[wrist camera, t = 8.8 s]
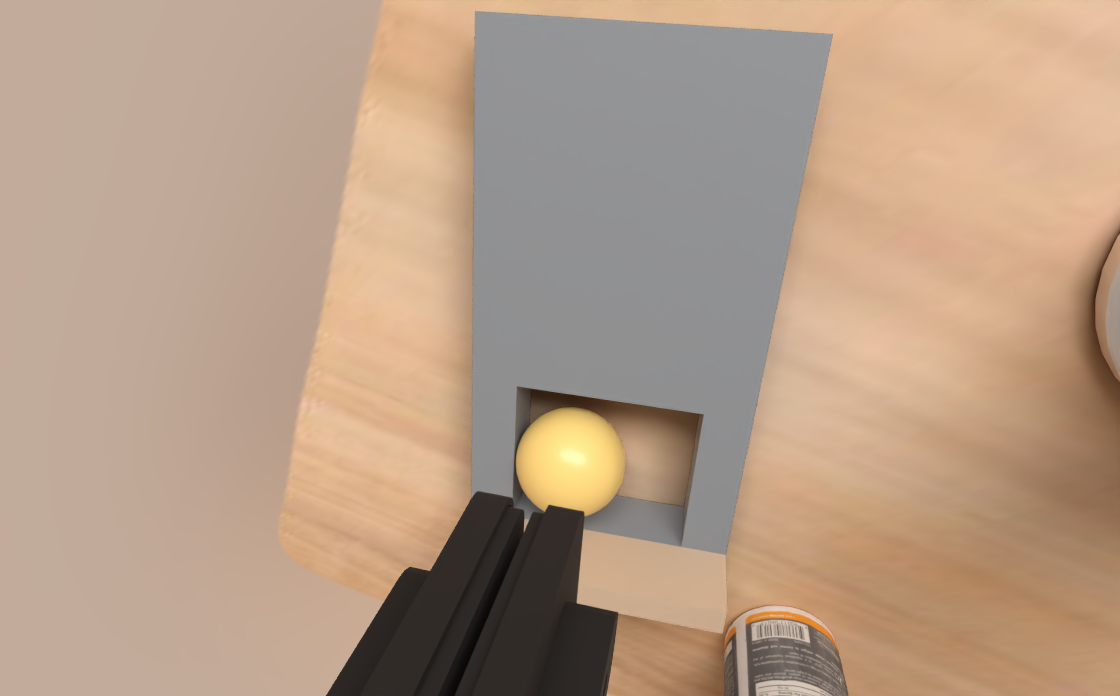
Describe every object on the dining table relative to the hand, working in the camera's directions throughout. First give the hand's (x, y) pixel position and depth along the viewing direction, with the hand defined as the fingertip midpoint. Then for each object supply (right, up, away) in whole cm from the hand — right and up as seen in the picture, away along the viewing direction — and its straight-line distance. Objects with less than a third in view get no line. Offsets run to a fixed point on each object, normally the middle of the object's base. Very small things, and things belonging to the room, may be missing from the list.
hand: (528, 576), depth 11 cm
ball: (+1, -2, +21) cm, 21 cm away
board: (+3, +5, +20) cm, 21 cm away
